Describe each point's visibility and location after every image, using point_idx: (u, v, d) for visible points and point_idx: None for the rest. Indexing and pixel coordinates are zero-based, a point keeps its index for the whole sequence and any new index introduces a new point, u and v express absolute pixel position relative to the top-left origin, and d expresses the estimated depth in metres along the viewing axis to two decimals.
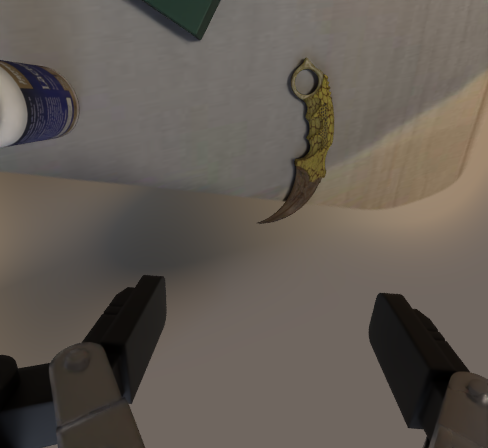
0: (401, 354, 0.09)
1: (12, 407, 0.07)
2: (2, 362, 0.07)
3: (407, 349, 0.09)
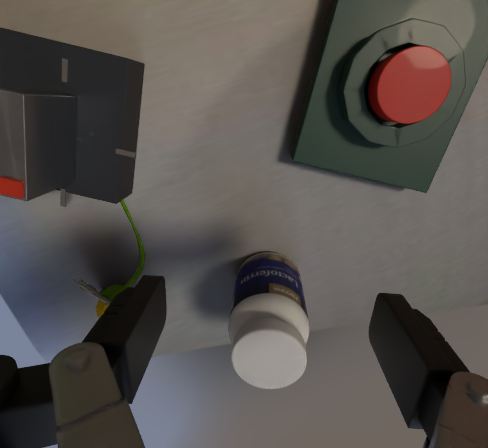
0: (401, 354, 0.09)
1: (12, 407, 0.07)
2: (3, 362, 0.07)
3: (407, 349, 0.09)
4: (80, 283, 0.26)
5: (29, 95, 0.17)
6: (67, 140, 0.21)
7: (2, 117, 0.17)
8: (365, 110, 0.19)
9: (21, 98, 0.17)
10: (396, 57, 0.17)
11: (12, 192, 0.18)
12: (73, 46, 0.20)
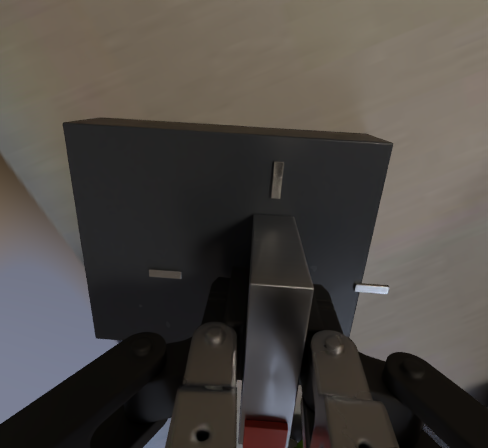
0: None
1: (168, 376, 0.08)
2: (157, 342, 0.08)
3: None
4: None
5: (311, 280, 0.08)
6: None
7: (262, 331, 0.08)
8: None
9: (307, 295, 0.08)
10: None
11: (268, 444, 0.10)
12: (293, 138, 0.11)
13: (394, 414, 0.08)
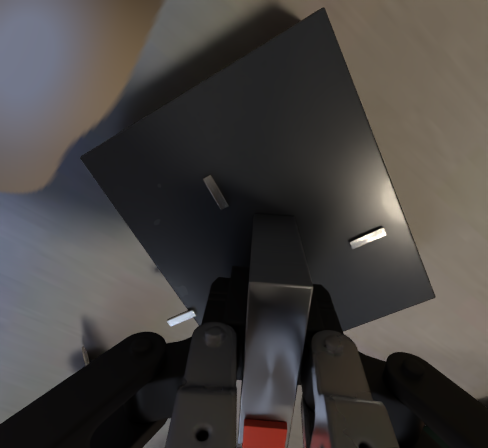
0: None
1: (168, 376, 0.08)
2: (157, 342, 0.08)
3: None
4: None
5: (310, 279, 0.08)
6: None
7: (261, 330, 0.08)
8: None
9: (307, 294, 0.08)
10: None
11: (268, 444, 0.10)
12: (407, 229, 0.12)
13: (394, 414, 0.08)
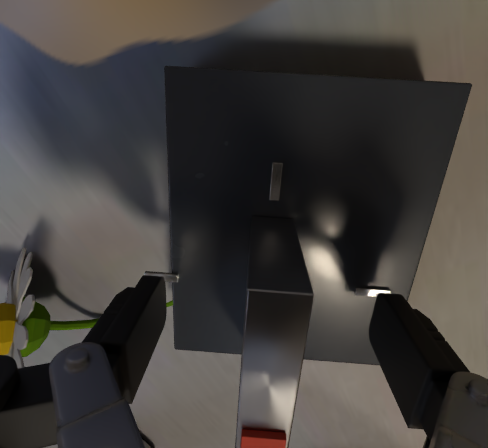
0: (401, 354, 0.10)
1: (12, 407, 0.07)
2: (2, 362, 0.07)
3: (407, 349, 0.09)
4: None
5: (311, 286, 0.08)
6: None
7: (259, 339, 0.08)
8: None
9: (307, 302, 0.08)
10: None
11: None
12: None
13: None
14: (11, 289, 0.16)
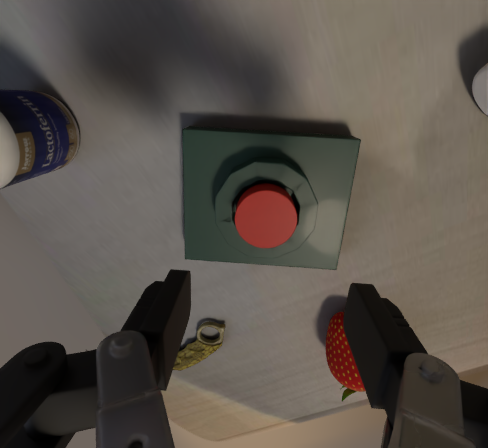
0: (367, 339, 0.10)
1: (64, 390, 0.07)
2: (54, 349, 0.08)
3: (372, 334, 0.10)
4: None
5: None
6: None
7: None
8: (241, 186, 0.21)
9: None
10: (286, 199, 0.19)
11: None
12: None
13: None
14: None
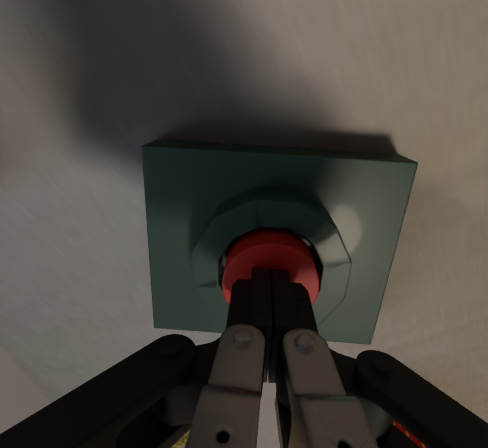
0: None
1: (198, 379, 0.08)
2: (187, 346, 0.08)
3: (272, 314, 0.10)
4: None
5: None
6: None
7: None
8: (232, 237, 0.13)
9: None
10: (302, 258, 0.12)
11: None
12: None
13: None
14: None
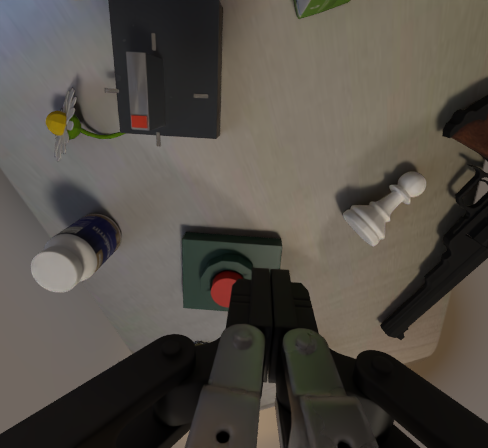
0: None
1: (198, 379, 0.08)
2: (187, 346, 0.08)
3: (272, 314, 0.10)
4: (74, 99, 0.31)
5: (147, 54, 0.26)
6: (161, 92, 0.30)
7: (132, 71, 0.26)
8: (214, 273, 0.37)
9: (144, 56, 0.25)
10: None
11: (140, 124, 0.27)
12: (216, 101, 0.31)
13: None
14: None
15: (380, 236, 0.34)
